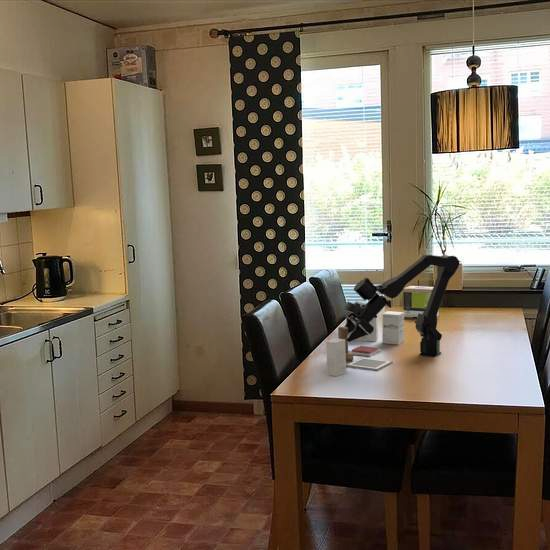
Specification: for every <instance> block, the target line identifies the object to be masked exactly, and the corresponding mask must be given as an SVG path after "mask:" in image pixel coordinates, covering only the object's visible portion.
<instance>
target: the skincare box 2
mask: <svg viewBox="0 0 550 550" xmlns="http://www.w3.org/2000/svg"><path fill="white" fill-rule="evenodd" d="M377 316H378V317H377V318H373V320H372V321H371V322H370V324H371V325H372V326H373V327H374V331H373V332H372V333H371V334H369V333H368V332H367V334H368V335H365V336H363V337H360V338H358V339H355V340H353V341H355V342H356V341H358V342H359V341H361V342H364V341H365V342H377V341H378V339H379V315H378V314H377ZM352 332H353V331H352ZM352 332H351V333H352ZM353 341H352V342H353Z"/></svg>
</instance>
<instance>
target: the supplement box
mask: <svg viewBox="0 0 550 550" xmlns="http://www.w3.org/2000/svg"><path fill="white" fill-rule="evenodd" d="M381 338H382V344H389V345H398V346H399V345H401V344H402V343H403V342H404V341H405V317H404V311H394V310H393V311H392V310H391V311H390V310H386V311H385V312H383V313H382V335H381Z"/></svg>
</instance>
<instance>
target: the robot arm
mask: <svg viewBox="0 0 550 550" xmlns="http://www.w3.org/2000/svg"><path fill="white" fill-rule="evenodd" d="M431 266H435V267H437V268H436V272H437V273H436V274H437V275H436V279H435V281H434V284H433V286H432V287H433V290H432V293H431V296H430V298H429V301H428V304H427V307H426V310H425V311H424V312H423V313H422V314H420V313H418V316H417V318H416V320H415V321H414V324H415V329H416V331H417V332H418V333H419V335H420V337H421V340H420V343H419V348H420V349H419V355H420V356H427V357H428V356H429V357H437V356H439V355H441V354H442V351H440V350H441V347H440V346H441V345H440V344H441V343H440V341H441V340H442V338H443V334H442V333H441V332H439V331H438V330H437V326H438V316H437V313H438V310H439V311H440V307H441V305H442V301H443V300H444V299H443V298H444V296H445V293H446V290H447V287H448V284H449V282H450V280H451V278H452V277H453V276H454V275H455V273H456V272H457V270H458V268H459V267H460V260H459V259H458V257H457V256H455V255H453V254H452V255H451V254H446V253H444V254H442V255H433V254H428V253H425V254H422V256H421V257H420V258H418V259H417V260H416V261H415V262H414V263H412V264H411V265H410V266H408V267H407V268H406V269H405V270H404V271H403V272H401V273H400V274H398V275H396V276H394V277H391V278H389V279H388V280H385V281H384V282H383V283H381V284H378V285H375V284H373V283H372V281H371V280H370V279H369V278H368V277H365V278H363V279H362V280H360V281H359V282H357V283H356V284H355V286H354V288H353V291H354V292H355V293H357V294H358V296H359V297H360V298H361V299H363V301H367V302H366V303H367V304H366V305H364V304H363V305H361V306H360V304H358V303H355V302H354V303H353V302H351V301H347V302H346V305H345V307H344V310H346V311H347V313H346V314H345V325H344V326H343V327H348V339H347V341H348V343H350V342H353V340H355V339H358V338H360V337H363V336H365V335H368V334H367V332H368V333H369V334H371V333H372V332H373V331H374V327H373V326H372V325H371V324H370V322H371V321H372V320H373V318H377V317H378V318H379V315H378V314H380V312H382V310H383V309H384V308H385V307H388V308H389V309H391V308H392V300H391V299H395V298H397V297H398V296H399V295H400V294H401V293H403V289H404V288H406V286H407V285H408V284H409V283H410V282H411V281H413V279H415V278H416V277H417V276H419V275H420V274H421V273H423V272H424V271H425V270H426V269H428V268H429V267H431ZM378 293H379V294H378ZM386 297H387V298H389V299H387V298H386ZM377 315H378V316H377ZM352 331H353V332H352Z"/></svg>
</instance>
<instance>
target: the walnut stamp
mask: <svg viewBox="0 0 550 550" xmlns="http://www.w3.org/2000/svg"><path fill="white" fill-rule="evenodd" d="M337 328H338V329H337V334H338V335H337V336H338V337H337V338H338V339H345V348H346V363H351V362H353V361H354V355H353V353H351V352H350V351H351V350H349V342H348V341H347V339H348V337H349V334H348V327H344V326H339V327H337Z"/></svg>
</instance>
